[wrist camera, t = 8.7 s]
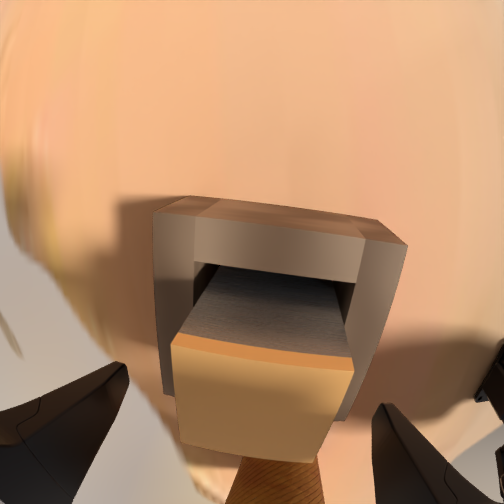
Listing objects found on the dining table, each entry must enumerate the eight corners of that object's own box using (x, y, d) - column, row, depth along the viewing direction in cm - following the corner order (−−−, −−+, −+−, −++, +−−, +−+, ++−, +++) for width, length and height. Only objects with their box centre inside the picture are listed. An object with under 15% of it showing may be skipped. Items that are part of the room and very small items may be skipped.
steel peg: (325, 258, 16) (354, 371, 7) (309, 335, 17) (312, 463, 9) (233, 245, 16) (170, 343, 8) (227, 323, 18) (180, 442, 9)
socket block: (377, 220, 14) (407, 245, 10) (337, 370, 18) (344, 421, 14) (189, 195, 15) (153, 211, 11) (187, 348, 19) (163, 394, 14)
